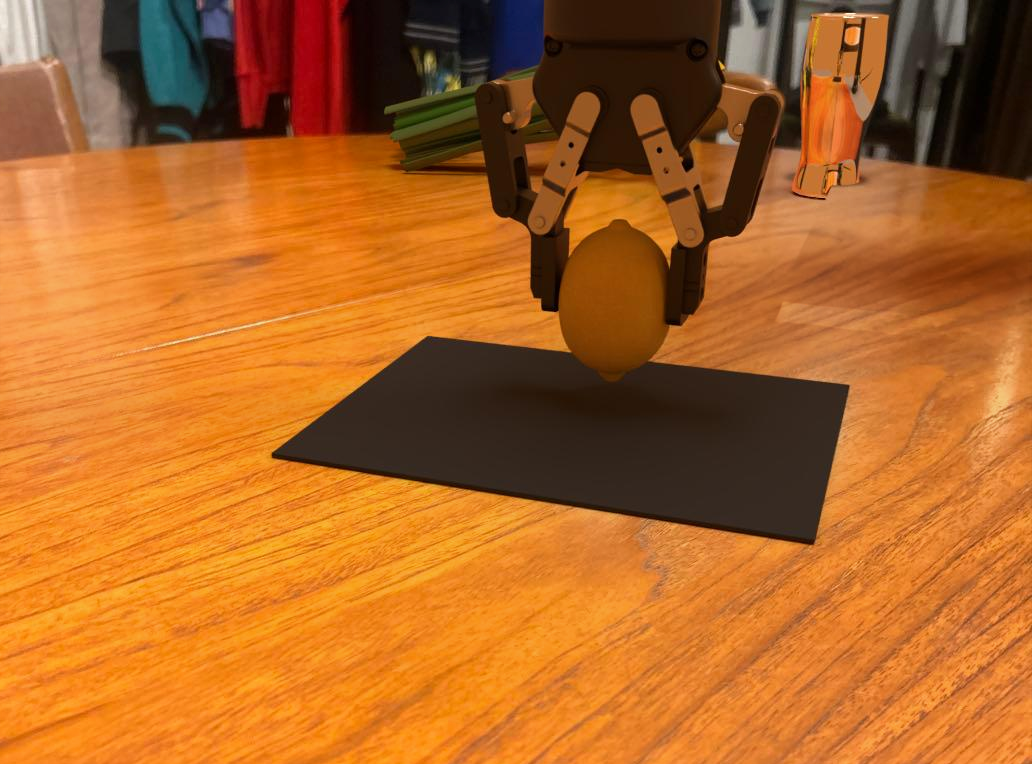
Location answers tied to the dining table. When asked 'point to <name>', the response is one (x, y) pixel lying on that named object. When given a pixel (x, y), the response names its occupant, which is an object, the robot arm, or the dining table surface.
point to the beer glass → (838, 97)
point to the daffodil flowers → (453, 125)
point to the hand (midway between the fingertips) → (615, 313)
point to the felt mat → (592, 435)
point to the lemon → (614, 300)
